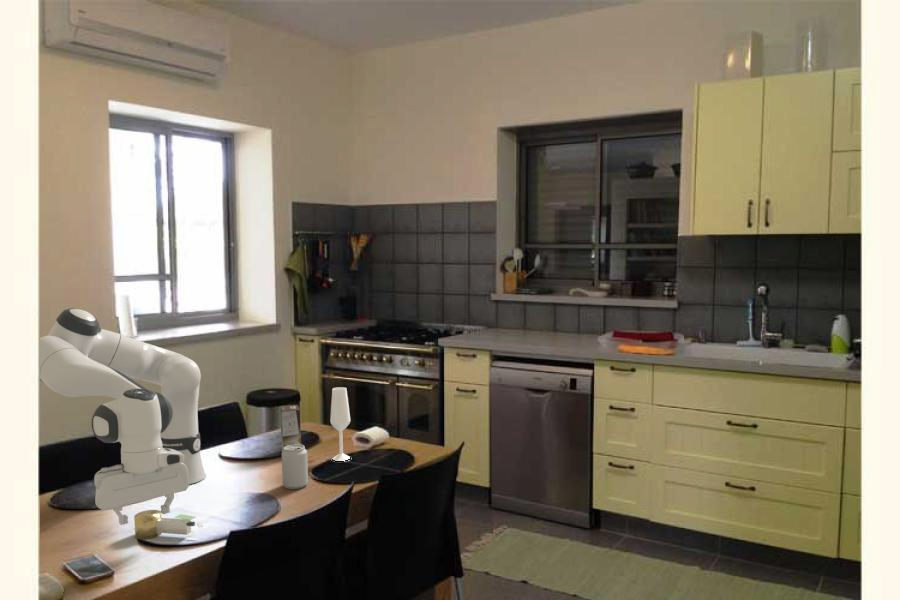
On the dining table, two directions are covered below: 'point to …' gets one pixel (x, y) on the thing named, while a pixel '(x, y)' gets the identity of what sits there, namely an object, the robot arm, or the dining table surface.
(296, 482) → the can
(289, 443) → the coffee box
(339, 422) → the champagne flute
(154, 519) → the yellow cylinder with handle
